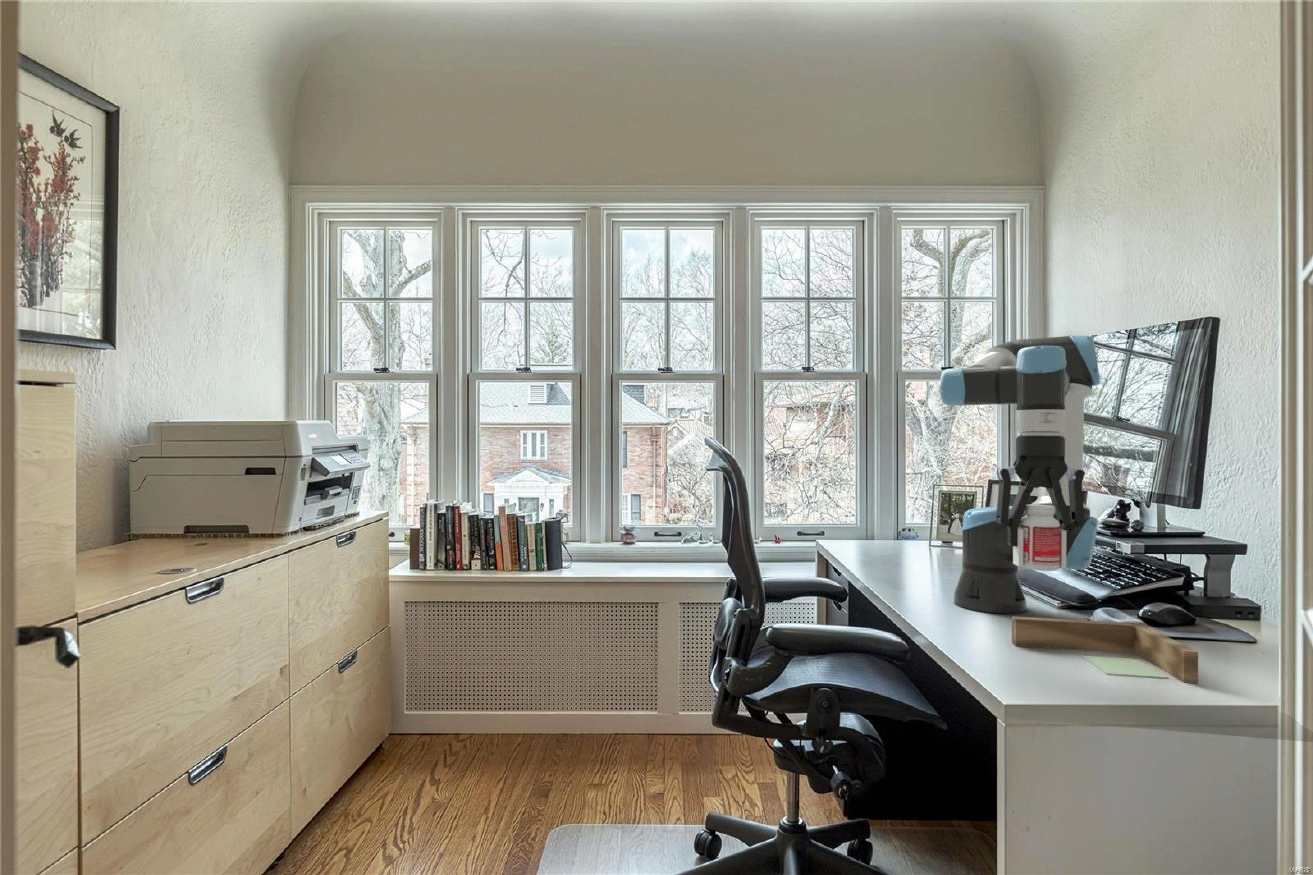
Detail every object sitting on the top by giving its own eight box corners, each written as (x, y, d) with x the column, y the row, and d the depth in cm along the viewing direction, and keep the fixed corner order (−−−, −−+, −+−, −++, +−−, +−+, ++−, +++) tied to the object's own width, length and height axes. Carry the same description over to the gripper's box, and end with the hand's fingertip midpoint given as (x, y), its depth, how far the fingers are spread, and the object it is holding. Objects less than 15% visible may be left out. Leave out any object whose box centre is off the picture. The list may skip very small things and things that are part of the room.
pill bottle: (1066, 569, 116) (1067, 506, 116) (1048, 573, 112) (1049, 508, 112) (1030, 563, 121) (1030, 503, 121) (1012, 566, 117) (1012, 504, 117)
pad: (1081, 657, 118) (1082, 655, 118) (1137, 660, 117) (1137, 659, 117) (1107, 674, 109) (1107, 673, 109) (1167, 678, 108) (1167, 677, 108)
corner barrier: (1011, 642, 126) (1012, 616, 126) (1139, 650, 123) (1140, 623, 123) (1048, 673, 110) (1048, 643, 110) (1197, 683, 106) (1198, 652, 106)
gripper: (988, 434, 114) (987, 567, 114) (1110, 434, 111) (1109, 572, 111) (975, 434, 122) (974, 559, 122) (1089, 435, 119) (1088, 564, 119)
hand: (1039, 565), depth 116 cm, fingers closed on pill bottle, 6 cm apart
